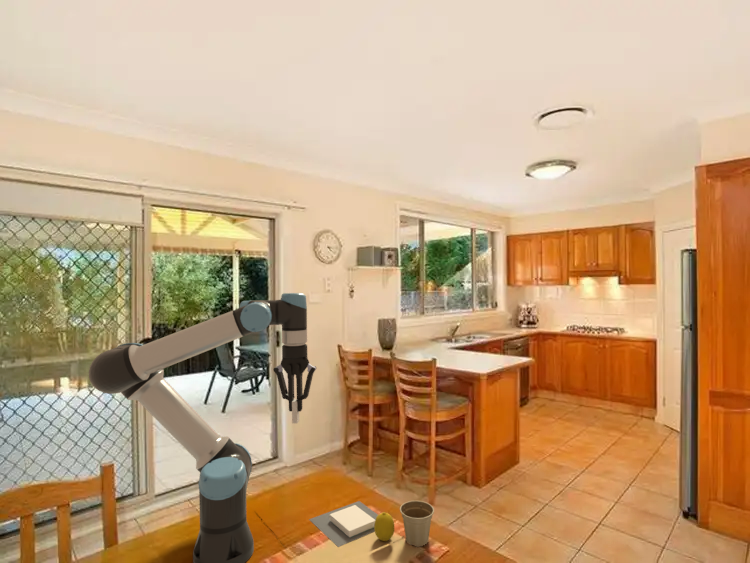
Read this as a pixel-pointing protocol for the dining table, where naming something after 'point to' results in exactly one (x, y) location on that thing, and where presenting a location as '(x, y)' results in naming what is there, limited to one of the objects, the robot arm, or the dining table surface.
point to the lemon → (384, 526)
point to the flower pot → (417, 521)
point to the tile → (352, 521)
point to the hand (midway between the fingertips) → (295, 421)
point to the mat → (334, 532)
